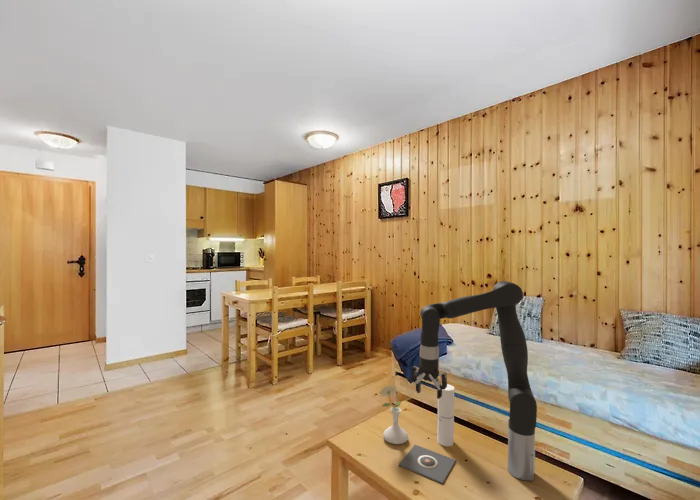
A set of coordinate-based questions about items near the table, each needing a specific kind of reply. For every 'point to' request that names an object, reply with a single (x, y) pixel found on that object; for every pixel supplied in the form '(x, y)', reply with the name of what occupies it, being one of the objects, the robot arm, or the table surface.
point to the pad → (428, 463)
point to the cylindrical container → (446, 417)
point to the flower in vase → (395, 431)
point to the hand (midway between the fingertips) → (428, 395)
